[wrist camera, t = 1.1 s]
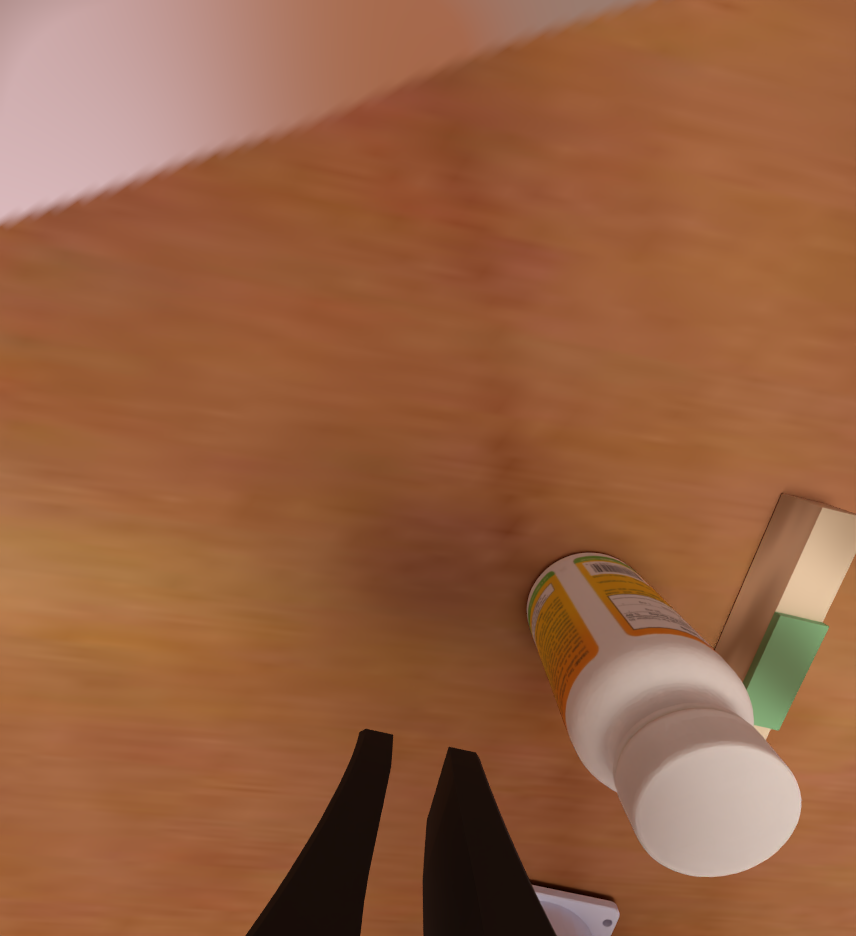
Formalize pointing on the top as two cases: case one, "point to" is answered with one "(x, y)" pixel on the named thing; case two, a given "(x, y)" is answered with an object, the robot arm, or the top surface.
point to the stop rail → (787, 603)
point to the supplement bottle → (660, 719)
